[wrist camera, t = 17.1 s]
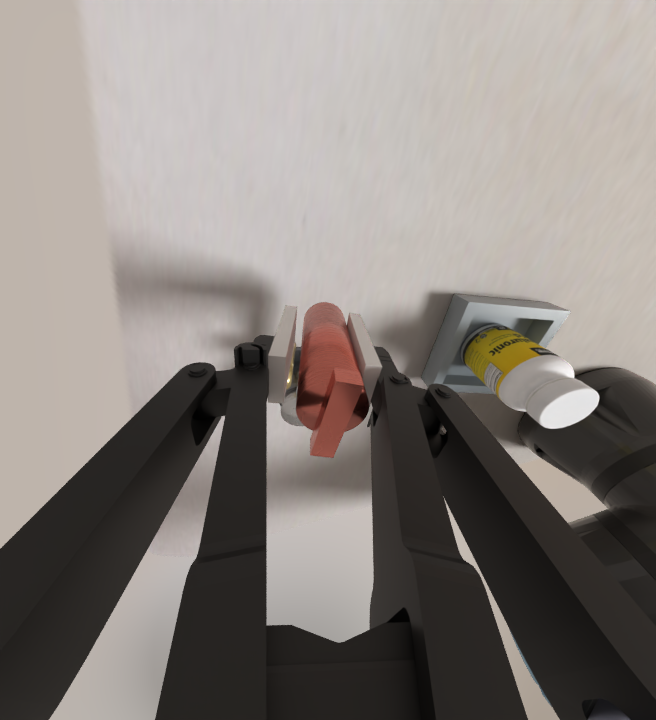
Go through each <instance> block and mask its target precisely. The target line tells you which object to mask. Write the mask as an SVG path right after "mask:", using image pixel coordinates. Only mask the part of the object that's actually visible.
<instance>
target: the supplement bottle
mask: <svg viewBox="0 0 656 720" xmlns="http://www.w3.org/2000/svg"><path fill="white" fill-rule="evenodd" d="M461 359H462V361H463V363H464V364H465V365H466V366H467V367H468V368H469V369H470V370H471V371H472V372H473V373H474V374H475V375H476V376H477V377H478V378H479V379H480V380H481V381H482V382H483V383H484V384H485V385H486V386H487V387H488V388H489V389H490V390H491V391H492V392H493V393H494V394H495V395H496V396H497V397H498V398H499V399H500V400H501V401H502V402H503V403H505V404H506V405H507V406H508V407H510V408H512V409H514V410H518V411H526V412H527V413H528V414H529V415H530V416H531V417H532V418H533V419H534V420H536V421H537V422H538V423H539V424H540V425H541V426H543V427H545V428H550V429H557V428H563V427H567V426H570V425H572V424H575V423H577V422H579V421H580V420H582V419H584V418H585V417H587V416H588V415H589V414H590V413H591V412H592V411H593V410H594V409H595V408H596V407H597V405H598V402H599V395H598V393H597V392H596V391H595V390H594V389H592V388H591V387H589V386H587V385H586V384H584V383H583V382H582V381H580V380H577V379H575V378H574V370H573V368H572V366H571V365H570V364H569V363H568V362H567V361H565V360H564V359H562V358H561V357H559V356H558V355H556V354H554V353H552V352H551V351H549V350H547V349H545V348H543V347H542V346H540V345H538V344H537V343H535V342H533V341H531V340H530V339H528V338H526V337H524V336H523V335H521V334H519V333H517V332H516V331H514V330H512V329H510V328H509V327H506V326H504V325H500V324H491V325H487V326H484V327H481V328H479V329H477V330H476V331H474V332H473V333H472V334H470V335H469V336H468V338H467V339H466V340H465V342H464V343H463V345H462V348H461Z"/></svg>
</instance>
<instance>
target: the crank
mask: <svg viewBox="0 0 656 720" xmlns="http://www.w3.org/2000/svg"><path fill="white" fill-rule="evenodd" d="M368 411H369V400H368V397H367V393H366V390H365V386H364V383H363V380H362V376H361V373H360V370H359V366H358V363H357V359H356V356H355V353H354V349H353V346H352V343H351V339H350V336H349V332H348V329H347V326H346V322H345V319H344V316H343V313H342V311H341V310H340V309H339V308H338V307H337V306H335V305H334V304H331V303H327V302H322V303H318V304H315V305H313V306H312V307H310V308H309V309H308V311H307V312H306V314H305V317H304V324H303V335H302V346H301V356H300V367H299V377H298V382H297V386H296V387H294V388H291V389H289V390H288V391H287V392H286V393H285V398H284V403H283V404H282V407H281V416H282V418H283V419H284V420H285V421H286V422H287V423H289V424H291V425H295V426H306V427H307V428H309V429H311V430H313V433H312V436H311V439H310V455H313V456H322V457H330V458H333V457H334V455H335V452H336V450H337V448H338V445H339V443H340V441H341V438H342V436H343V434H344V432H346V431H348V430H351V429H353V428H354V427H356V426H357V425H359V424H360V423H361V422H362V421H363V420H364V419H365V417H366V415H367V413H368Z"/></svg>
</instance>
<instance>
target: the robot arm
mask: <svg viewBox="0 0 656 720" xmlns="http://www.w3.org/2000/svg"><path fill="white" fill-rule="evenodd" d="M296 316H297V307H295V306H287V305H286V306H285V309H284V312H283V315H282V318H281V321H280V323H279V326H278V329H277V332H276V335H275V336H266V335H260V336H258V337H257V338H255V340H254V342H253V343H252V342H250V343H243V344H239V345H238V346H236V347H235V349H234V357H235V368H234V369H231V370H224V371H216V370H215V367H214V366H213V365H211V364H209V363H200V362H199V363H193V364H190V365H187V366H185V367H184V368H182V369H181V370H180V371H179V372H178V373H177V374H176V375H175V376H174V377H173V378H172V379H171V380H170V381H169V382H168V383H167V384H166V385H165V386H164V387H163V388H162V389H161V390H160V391H159V392H158V393H157V394H156V395H155V396H154V397H153V398H152V399H151V400H150V401H149V402H148V403H147V404H146V405H145V406H144V407H143V408H142V409H141V410H140V411H139V412H138V413H137V414H136V415H135V416H134V417H133V418H132V419H131V420H130V421H129V422H128V423H126V425H124V426H123V427H122V428H121V429H120V430H119V431H118V433H117V434H116V435H115V436H113V437H112V438H111V439H110V440H109V441H108V442H107V443H106V444H105V445H104V446H103V447H102V448H101V449H100V450H99V451H98V452H97V453H96V454H95V455H94V456H93V457H92V458H91V459H90V460H89V461H88V463H86V464H85V465H84V466H83V467H82V468H81V469H80V470H79V471H78V472H77V473H76V474H75V475H74V476H73V477H72V478H71V479H70V480H69V481H68V482H67V483H66V484H65V485H64V486H63V487H62V488H61V489H60V490H59V491H58V492H57V493H56V494H55V495H54V496H53V497H52V498H51V499H50V500H49V501H48V502H47V503H46V504H45V505H44V506H43V507H42V508H41V509H40V510H39V511H38V512H37V513H36V514H35V515H34V516H33V517H32V518H31V519H30V520H29V521H28V522H27V523H26V524H25V525H24V526H23V527H22V528H21V529H20V530H19V531H18V532H17V533H16V534H15V535H14V536H13V537H12V538H11V539H10V540H9V541H8V542H7V543H6V544H5V545H4V546H3V547H2V548H1V549H0V720H49V719H50V717H51V715H52V714H53V713H54V711H55V709H56V708H57V707H58V705H59V703H60V702H61V700H62V698H63V697H64V695H65V693H66V692H67V690H68V688H69V687H70V685H71V683H72V682H73V680H74V678H75V677H76V675H77V673H78V672H79V670H80V668H81V667H82V665H83V663H84V662H85V660H86V658H87V656H88V654H89V653H90V651H91V649H92V647H93V646H94V644H95V642H96V640H97V638H98V637H99V635H100V633H101V631H102V630H103V628H104V626H105V624H106V622H107V621H108V619H109V617H110V615H111V613H112V612H113V610H114V608H115V606H116V605H117V603H118V601H119V599H120V597H121V596H122V594H123V592H124V590H125V588H126V587H127V585H128V583H129V581H130V580H131V578H132V576H133V574H134V572H135V571H136V569H137V567H138V565H139V563H140V562H141V560H142V558H143V556H144V555H145V553H146V551H147V549H148V547H149V546H150V544H151V542H152V540H153V539H154V537H155V535H156V533H157V531H158V530H159V528H160V526H161V524H162V522H163V521H164V519H165V517H166V515H167V514H168V512H169V510H170V508H171V506H172V505H173V503H174V501H175V499H176V497H177V496H178V494H179V492H180V490H181V489H182V487H183V485H184V483H185V481H186V480H187V478H188V476H189V474H190V473H191V471H192V469H193V467H194V465H195V464H196V462H197V460H198V458H199V456H200V455H201V453H202V451H203V449H204V448H205V446H206V444H207V442H208V440H209V439H210V437H211V435H212V433H213V431H214V430H215V428H216V426H217V424H218V423H219V421H220V419H221V416H225V421H224V426H223V431H222V436H221V441H220V446H219V451H218V456H217V461H216V466H215V471H214V476H213V482H212V487H211V492H210V497H209V502H208V507H207V512H206V517H205V522H204V527H203V532H202V537H201V543H200V547H199V551H198V555H197V558H196V559H195V561H194V562H193V564H192V565H191V567H190V570H189V572H188V575H187V578H186V582H185V586H184V590H183V594H182V599H181V603H180V608H179V612H178V617H177V622H176V626H175V631H174V636H173V641H172V645H171V649H170V654H169V658H168V663H167V668H166V673H165V677H164V682H163V686H162V691H161V695H160V700H159V705H158V709H157V714H156V718H155V720H528V718H527V715H526V712H525V709H524V706H523V703H522V700H521V697H520V694H519V691H518V688H517V685H516V681H515V679H514V675H513V672H512V669H511V666H510V663H509V660H508V657H507V654H506V651H505V648H504V645H503V642H502V638H501V635H500V632H499V629H498V626H497V623H496V620H495V617H494V614H493V611H492V608H491V605H490V602H489V599H488V596H487V592H486V589H485V587H484V584H483V582H482V580H481V577H480V575H479V574H478V572H477V571H476V570H475V568H474V567H473V566H472V565H470V564H469V563H467V562H466V561H464V560H463V558H462V557H461V555H460V553H459V550H458V547H457V543H456V540H455V536H454V533H453V529H452V526H451V522H450V518H449V515H448V511H447V508H446V504H445V501H444V498H445V500H446V502H447V504H448V506H449V508H450V510H451V512H452V514H453V516H454V518H455V520H456V522H457V524H458V526H459V528H460V530H461V532H462V534H463V536H464V538H465V541H466V542H467V545H468V547H469V548H470V551H471V552H472V554H473V556H474V558H475V560H476V562H477V564H478V567H479V569H480V571H481V573H482V574H483V577H484V579H485V580H486V583H487V585H488V586H489V589H490V591H491V593H492V595H493V597H494V599H495V601H496V603H497V605H498V607H499V608H500V610H501V613H502V614H503V616H504V619H505V621H506V623H507V625H508V627H509V629H510V632H511V634H512V637H513V639H514V641H515V643H516V646H517V648H518V650H519V652H520V654H521V657H522V659H523V661H524V663H525V665H526V667H527V669H528V670H529V672H530V674H531V676H532V678H533V679H534V681H535V682H536V683H537V684H538V685H539V687H540V689H541V692H542V694H543V696H544V697H545V699H546V700H547V701H548V703H549V704H550V705H551V706H552V707H553V709H554V710H555V712H556V714H557V716H558V717H559V719H560V720H656V385H655V384H654V383H652V382H651V381H649V380H647V379H645V378H643V377H641V376H639V375H637V374H635V373H633V372H631V371H629V370H625V369H619V368H608V369H600V370H595V371H591V372H588V373H584V374H581V375H579V376H576V377H574V378H575V379H577V380H580V381H582V382H583V383H584V384H586V385H587V386H589V387H591V388H592V389H594V390H595V391H596V392H597V393H598V395H599V402H598V405H597V407H596V408H595V409H594V410H593V411H592V412H591V413H590V414H589V415H588V416H587V417H585V418H584V419H582V420H580V421H579V422H577V423H575V424H572V425H570V426H567V427H563V428H557V429H550V428H545V427H543V426H541V425H540V424H539V423H538V422H537V421H536V420H534V419H533V418H532V417H531V416H530V415H529V414H528V413H527V412H526V413H525V414H524V416H523V418H522V420H521V422H520V425H519V436H520V438H521V440H522V441H523V442H524V443H525V444H526V445H527V446H528V447H529V448H530V449H531V451H532V452H534V453H535V454H536V455H537V456H539V457H540V458H542V459H544V460H545V461H547V462H548V463H550V464H551V465H553V466H554V467H556V468H558V469H559V470H561V471H562V472H564V473H565V474H567V475H569V476H571V477H572V478H573V479H575V480H577V481H578V482H580V483H581V484H583V485H584V486H585V487H587V488H588V489H589V490H590V491H591V492H592V493H593V494H594V495H595V496H596V497H597V498H598V499H599V500H600V501H601V502H602V503H603V504H604V505H605V506H606V507H607V508H608V509H607V510H604V511H601V512H599V513H596V514H593V515H590V516H587V517H584V518H581V519H578V520H576V521H573V522H570V523H567V522H566V521H565V520H564V518H563V517H562V516H561V515H560V514H559V513H558V511H557V510H556V509H555V508H554V507H553V506H552V504H551V503H550V502H549V501H548V500H547V498H546V497H545V496H544V495H543V494H542V493H541V491H540V490H539V489H538V488H537V487H536V486H535V484H534V483H533V482H532V481H531V480H530V479H529V477H528V476H527V475H526V474H525V473H524V472H523V470H522V469H521V468H520V467H519V466H518V465H517V463H516V462H515V461H514V460H513V459H512V458H511V456H510V455H509V454H508V453H507V452H506V451H505V449H504V448H503V447H502V446H501V445H500V444H499V442H498V441H497V440H496V439H495V438H494V437H493V435H492V434H491V433H490V432H489V431H488V430H487V428H486V427H485V426H484V425H483V424H482V422H481V421H480V420H479V419H478V418H477V417H476V415H475V414H474V413H473V412H472V411H471V410H470V408H469V407H468V406H467V405H466V404H465V403H464V401H463V400H462V399H461V398H460V397H459V396H458V394H457V393H456V392H455V391H453V390H452V389H451V388H449V387H448V386H446V385H443V384H437V383H435V384H431V385H429V387H428V389H427V390H425V389H422V388H418V387H415V386H412V383H411V381H410V379H409V378H408V377H407V376H405V375H403V374H401V373H399V372H398V370H397V369H396V367H395V365H394V363H393V361H392V359H391V358H390V355H389V353H388V352H387V351H386V350H385V349H384V348H383V347H374V346H373V344H372V341H371V339H370V337H369V334H368V332H367V330H366V327H365V325H364V323H363V320H362V318H361V316H360V314H353V313H349V318H348V323H347V329H348V332H349V336H350V339H351V343H352V346H353V349H354V353H355V356H356V359H357V363H358V366H359V370H360V373H361V376H362V380H363V383H364V386H365V390H366V393H367V397H368V400H369V407H370V404H371V403H372V407H373V409H372V412H371V416H370V419H369V422H368V425H367V427H369V426H370V424H371V465H372V512H373V562H374V583H373V591H372V597H371V604H370V630H368V631H366V632H364V633H362V634H360V635H358V636H355V637H353V638H351V639H349V640H347V641H345V642H341V643H337V642H334V641H331V640H329V639H326V638H323V637H321V636H318V635H316V634H313V633H311V632H308V631H305V630H303V629H300V628H298V627H295V626H292V625H272V626H266V401H267V398H268V402H270V403H282V404H283V403H284V398H285V392H286V387H287V381H288V376H289V370H290V365H291V359H292V354H293V348H294V343H295V330H296ZM443 426H444V428H445V429H446V431H447V432H446V433H445V434H444V433H443V432H442V430H441V429H442V427H443ZM443 496H444V497H443Z"/></svg>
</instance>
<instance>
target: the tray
mask: <svg viewBox="0 0 656 720" xmlns="http://www.w3.org/2000/svg"><path fill="white" fill-rule="evenodd" d="M570 312H571V311H569V310H566V309H563V308H561V307H558V306H556V305H553V304H550V303H548V302H537V301H526V300H516V299H505V298H494V297H484V296H473V295H462V294H454V296H453V298H452V301H451V303H450V306H449V308H448V311H447V313H446V316H445V318H444V321H443V323H442V326H441V329H440V331H439V334H438V336H437V339H436V341H435V344H434V346H433V349H432V351H431V354H430V356H429V359H428V362H427V364H426V367H425V369H424V372H423V374H422V377H421V378H422V379H423V381H424V382H425V384H426V385H427V387H429V385H431V384H435V383H437V384H443V385H446V386H448V387H449V388H451V389H452V390H453V391H455V392H464V393H485V394H494V393H493V392H492V391H491V390H490V389H489V388H488V387H487V386H486V385H485V384H484V383H483V382H482V381H481V380H480V379H479V378H478V377H477V376H476V375H475V374H474V373H473V372H472V371H471V370H470V369H469V368H468V367H467V366H466V365H465V364H464V363H463V361H462V359H461V348H462V345H463V343H464V342H465V340H466V339H467V338H468V336H469V335H470V334H472V333H473V332H474V331H476V330H477V329H479V328H481V327H484V326H487V325H491V324H500V325H504V326H506V327H509V328H510V329H512V330H514V331H516V332H517V333H519V334H521V335H523V336H524V337H526V338H528V339H530V340H531V341H533V342H535V343H537V344H538V345H540V346H542V347H543V348H546V347H547V345H548V344H549V342H550V341H551V340H552V338H553V337H554V335H555V334H556V332H557V331H558V329H559V328H560V326H561V325H562V324H563V322H564V321H565V319H566V318H567V316H568V315H569V313H570Z"/></svg>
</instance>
